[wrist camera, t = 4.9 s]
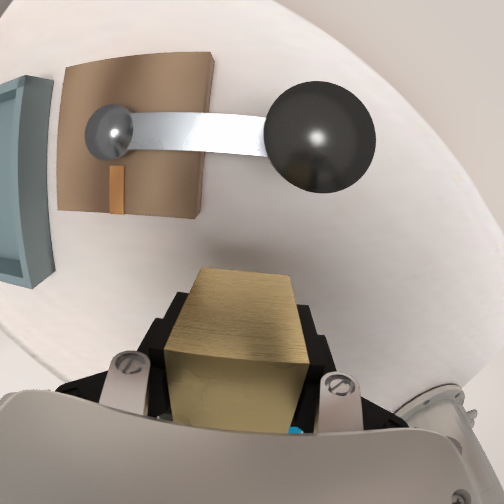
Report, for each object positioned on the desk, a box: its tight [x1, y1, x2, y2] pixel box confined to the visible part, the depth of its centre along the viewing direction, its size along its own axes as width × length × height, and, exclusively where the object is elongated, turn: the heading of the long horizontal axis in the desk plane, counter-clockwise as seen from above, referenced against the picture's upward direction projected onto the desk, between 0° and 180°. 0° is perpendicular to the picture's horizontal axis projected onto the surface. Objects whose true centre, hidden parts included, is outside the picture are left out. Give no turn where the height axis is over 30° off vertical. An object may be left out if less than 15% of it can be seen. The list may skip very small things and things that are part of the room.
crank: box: [85, 81, 376, 193], centre depth 11 cm, size 13×4×7 cm, turn 84°
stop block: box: [164, 267, 309, 433], centre depth 11 cm, size 4×4×6 cm
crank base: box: [57, 52, 215, 219], centre depth 15 cm, size 10×10×2 cm
